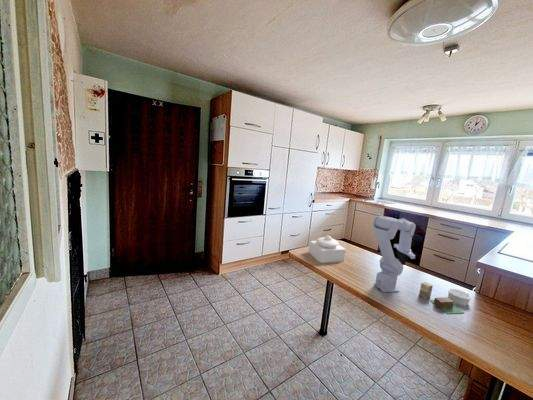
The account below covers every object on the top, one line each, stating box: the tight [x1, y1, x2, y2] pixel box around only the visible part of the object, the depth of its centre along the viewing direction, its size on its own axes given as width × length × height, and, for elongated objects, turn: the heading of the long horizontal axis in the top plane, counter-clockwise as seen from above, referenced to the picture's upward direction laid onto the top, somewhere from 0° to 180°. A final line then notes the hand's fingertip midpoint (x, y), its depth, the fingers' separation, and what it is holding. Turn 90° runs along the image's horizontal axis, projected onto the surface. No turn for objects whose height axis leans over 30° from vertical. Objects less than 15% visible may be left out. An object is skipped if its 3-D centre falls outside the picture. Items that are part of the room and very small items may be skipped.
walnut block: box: [433, 296, 455, 310], centre depth 111 cm, size 4×4×7 cm
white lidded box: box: [307, 235, 347, 264], centre depth 159 cm, size 18×18×16 cm
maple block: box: [418, 281, 434, 300], centre depth 118 cm, size 4×4×7 cm
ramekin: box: [447, 288, 472, 307], centre depth 117 cm, size 9×9×4 cm
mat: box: [429, 299, 465, 315], centre depth 111 cm, size 9×10×1 cm
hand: (401, 264), depth 131 cm, fingers closed
